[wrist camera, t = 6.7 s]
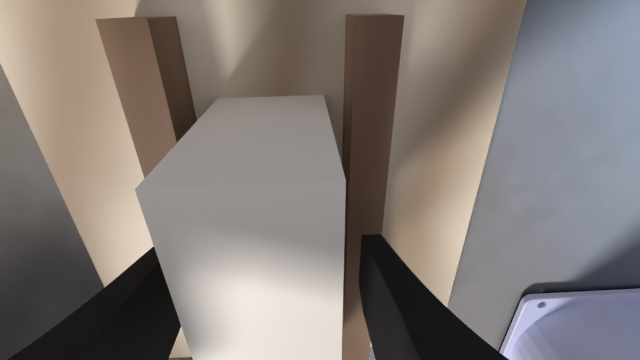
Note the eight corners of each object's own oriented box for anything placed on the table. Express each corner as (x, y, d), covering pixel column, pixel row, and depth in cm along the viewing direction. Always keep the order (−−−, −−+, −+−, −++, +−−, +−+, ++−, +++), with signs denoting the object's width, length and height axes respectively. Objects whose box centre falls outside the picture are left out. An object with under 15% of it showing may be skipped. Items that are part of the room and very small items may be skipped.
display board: (513, -60, 10) (607, -89, 7) (428, 319, 19) (452, 380, 16) (-11, -59, 9) (-160, -90, 6) (150, 334, 18) (119, 401, 15)
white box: (323, 94, 11) (346, 180, 5) (326, 302, 15) (339, 455, 10) (211, 98, 11) (122, 190, 5) (249, 306, 15) (222, 464, 10)
